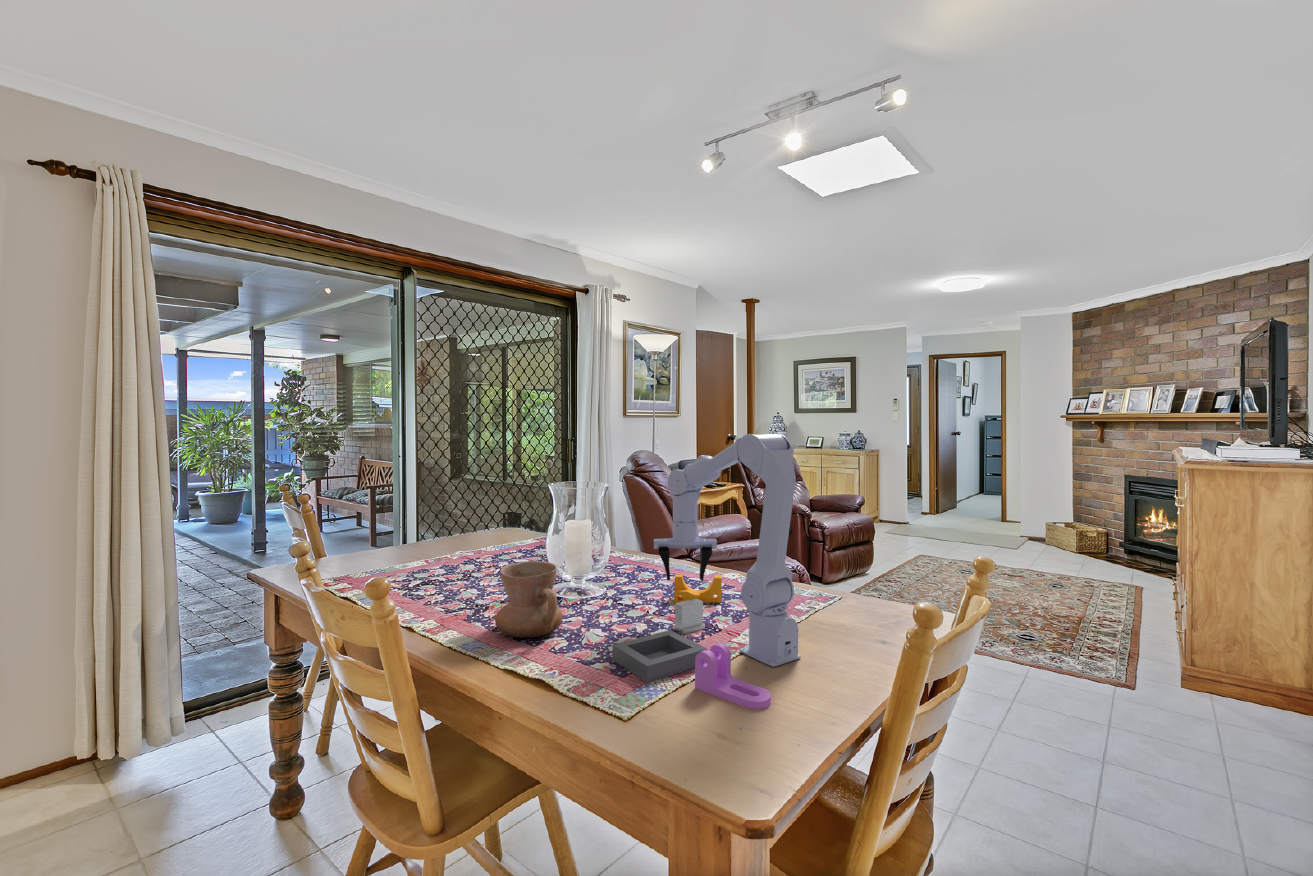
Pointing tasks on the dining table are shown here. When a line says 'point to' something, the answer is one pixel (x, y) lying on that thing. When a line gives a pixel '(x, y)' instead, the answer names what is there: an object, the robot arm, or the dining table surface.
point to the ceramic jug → (529, 600)
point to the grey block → (689, 616)
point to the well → (657, 655)
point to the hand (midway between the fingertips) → (684, 579)
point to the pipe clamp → (697, 591)
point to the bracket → (726, 679)
